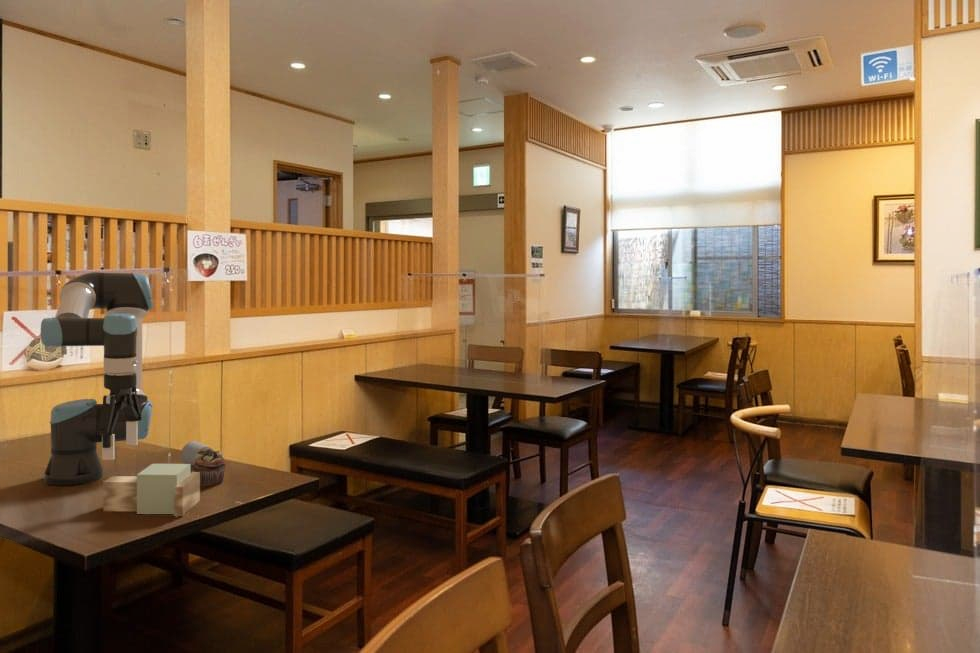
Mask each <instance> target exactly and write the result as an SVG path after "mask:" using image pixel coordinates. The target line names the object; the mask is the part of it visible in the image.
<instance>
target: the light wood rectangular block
mask: <svg viewBox="0 0 980 653" xmlns="http://www.w3.org/2000/svg"><path fill="white" fill-rule="evenodd" d="M102 483H103V485H102V486H103V487H102V490H103V494H102V495H103V496H102V497H103V500H102V502H103V504H102V505H103V510H102V511H103V512H137V475H136V476H134V475H133V476H131V475H130V476H128V475H127V476H125V475H124V476H123V475H121V476H119V475H117V476H114V475H112V476H110V477H109V478H108V479H106V480H104V481H103V482H102Z"/></svg>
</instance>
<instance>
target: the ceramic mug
mask: <svg viewBox="0 0 980 653" xmlns="http://www.w3.org/2000/svg"><path fill="white" fill-rule="evenodd" d="M209 449H211V450H212V452H213V451H214V449H213V448H212V447H211V446H209V445H207V444H203V443H201V442H198V441H197V440H195V441H194V440H191V441H188V442H187V443H186V444H184V446H183V447H182V449H181V453H180V458H181V460H182V462H183V464H191V467H193V465H194V464H195V460H196V459H197V458H196V455H197V454H198V453H199V452H201V451H207V450H209ZM204 453H205V454H206V452H204Z"/></svg>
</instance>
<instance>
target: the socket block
mask: <svg viewBox="0 0 980 653" xmlns="http://www.w3.org/2000/svg"><path fill="white" fill-rule="evenodd" d="M191 468H192V465H191V464H185V463H151V464H150V465H148V466H146V468H144V469H142V470H141V471H140V472H138V473H137V474H136V476H137V511H136V515H137V514H175V486H177V485H178V484H179V483H180V482H181V481H182V480H184V479H185V478H186V477H187V476H188V475H190V474H191V473H192V469H191Z"/></svg>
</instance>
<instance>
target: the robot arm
mask: <svg viewBox="0 0 980 653" xmlns="http://www.w3.org/2000/svg"><path fill="white" fill-rule="evenodd" d="M150 284H151V283H150V281H149V277H148V276H147V275H145V274H142V273H135V272H134V273H133V272H131V273H127V272H123V273H122V272H100V271H97V272H96V271H94V272H93V271H92V272H88V273H83V274H81V275H78V276H76V277H74V278H73V277H72V279H70V280H68V281H67V282H66V283H65V284H64V285H63V286H62V287H61V289H60V292H59V298H58V299H59V301H60V304H59V305H58V309H57V311H56V313H55V316H54V317H53V316H52V317H46V318H43V319H42V320H41V322H40V341H41V344H42V345H43V346H45V347H57V348H60V347H95V346H96V347H98V346H99V347H101V346H102V347H103V372H104V373H105V374H104V375H103V388H104V389H106V390H109V394H107V395H103V397H102V403H98V401H97V400H96V399H94V398H83V399H82V398H81V399H74V400H69V401H65V402H62V403H58V404H57V405H54V406H53V407H52V409H51V410H50V420H49V424H50V457H49V460H48V463H47V465H46V469H45V471H44V474H43V477H44V478H43V482H44V483H45V484H47V485H49V486H60V487H61V486H75V485H83V484H88V483H91V482H95V481H97V480H99V479H102V478H103V476H104V467H103V464H102V461H101V460H103V461H105V460H106V461H113V460H115V459H116V457H115V456H116V454H115V453H116V452H115V450H116V449H115V446H116V445H115V442H124V441H126V442H125V443H126V446H137V445H138V443H139V442H138V441H139V440H143V439H145V438H147V436H148V435H149V431H150V425H151V421H152V412H153V401H150V400H149V398H148V395H147V394H146V393H145V392H144V391H143V319H144V318H145V317H147V316H148V311H150V310H152V309H153V299H152V293H151V292H152V291H151V285H150ZM91 309H99V310H102V309H103V310H106V314H105V315H104V316H103V317H96V318H95V317H89V313H90V310H91ZM97 443H101V459H100V456H99V453H98V450H97V449H98V448H97Z"/></svg>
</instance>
